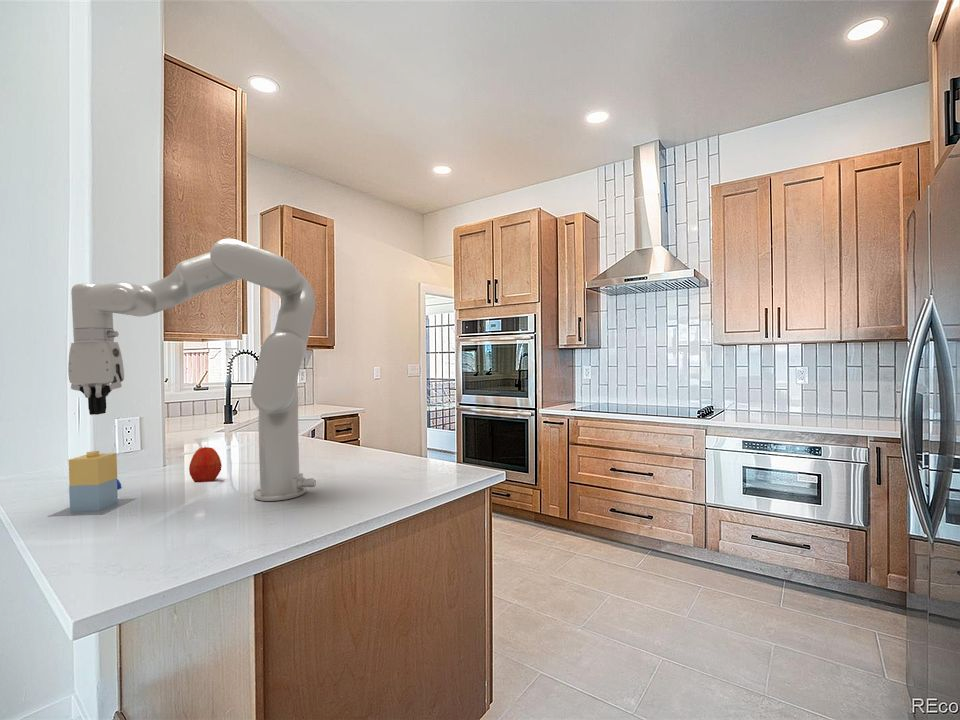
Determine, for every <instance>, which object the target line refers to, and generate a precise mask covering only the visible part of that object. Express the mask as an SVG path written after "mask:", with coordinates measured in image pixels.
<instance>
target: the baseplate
mask: <svg viewBox="0 0 960 720" xmlns="http://www.w3.org/2000/svg"><path fill="white" fill-rule="evenodd" d="M137 499H138V498H136V497H135V498H134V497H133V498H132V497H131V498H118V502H117V503H115V504H113V505H111V506H108V507H106V508H104V509H102V510H100V511H78V512H70V506H69V507H66V508H65V509H62V510H60V511H57V512H55V513H52V514H49V515H47V517H48V518H49V517H50V518H51V517H69V516H70V517H73V516H74V517H75V516H94V515H95V516H97V515H98V516H99V515H102V516H103V515H106V514H107V513H109V512H111V511H113V510H115V509H118V508H120V507H122V506H124V505H126V504H129V503H131V502H132V501H135V500H137Z"/></svg>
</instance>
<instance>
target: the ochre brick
mask: <svg viewBox="0 0 960 720" xmlns="http://www.w3.org/2000/svg"><path fill="white" fill-rule="evenodd" d="M117 458H118V456H117V452H112V453H111V452H110V453H108V452H105V453H104V452H103V453H100V450H93V451H87V452H86V454H84V455H80V456H77V457H73V458H70V459H68V482H69V484H68V487H69V486H77V485H99V484H102V483H104V482H107V481H110V480H112V479H115V478H117V479H118V463H117V461H118V459H117Z"/></svg>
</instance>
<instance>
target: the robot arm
mask: <svg viewBox="0 0 960 720" xmlns="http://www.w3.org/2000/svg"><path fill="white" fill-rule="evenodd" d="M240 280H244V281H247V282H248V283H252V284H255V285H258V286H260V287H263V288H266V289H267V290H270V291H271V292H272V293H275V294H277V296H279V298H280V307H279V309H278V313H277V318H276V322H275V327H274V330H273V332H272V333H271V334H269V335H267V337H266V339H265V340H264V341H263V343H262V346H261V349H260V352H259V356H258V361H257V364H256V369H255V373H254V376H253V381H252V384H251V387H250V388H251V391H250V397H251V398H250V399H251V400H252V403H253V405H254V406H255V407H256V408H257V409H258V454H259V455H258V456H259V459H258V460H259V488H258V489H256V490H255V491H254V492H253V498H254V499H255V500H256V501H260V502H261V501H263V502H275V501H276V502H277V501H284V500H290V499H293V498H294V499H295V498H297V497H300V496H302V495H304V494H305V493H306V492H307V488H315V487H316V486H317V480H316V479H314V477H313V478H311V477H310V478H305V477H304V473H300V447H299V446H300V443H299V442H300V441H299V389H298V388H299V387H298V384H297V381H298V377H299V373H300V370H301V366H302V362H303V361H304V359H305V357H306V355H307V346H308V341H309V338H310V334H311V329H312V324H313V319H314V315H315V308H316V297H315V292H314V289H313V287H312V285H311V283H310V282H309V280H307V278H306V277H305V276H304V275H303V274H302V273H301V272H300V270H298V269H297V268H296V266H295V265H294V264H293V263H292V261H290V260H289V259H288V258H286V257H284V256H282V255H279V254H276V253H273V252H270V251H268V250H265V249H262V248H260V247H257V246H254V245H252V244H249V243H247V242H244V241H242V240H239V239H236V238H231V237H230V238H227V237H226V238H222V239H220V240H218V241H216V242H215V243H214V244H213V245H212V246H211V249H210V251H208V252H206V253H203V254H200V255H197V256H195V257H191V258H188V259H185V260H182V261H181V262H179V263H178V264H176V266H175V268H174V270H173V271H172V272H171V273H170V274H169V275H167V276H165V277H164V278H161V279H158V280H155V281H153V282H151V283H147V284H144V285H141V286H140V285H137V284H134V283H129V282H126V281H125V282H121V281H120V282H112V283H103V284H98V283H76V284H74V285H73V286H72V287H71V292H70V294H71V296H70V297H71V312H72V332H73V342H71V343H70V348H69V353H68V354H69V355H68V364H67V365H68V368H67V372H68V373H67V374H68V380H69V384H70V385H71V386H70V389H71V390H74V391H77V392H78V391H79V392H81V393H82V394H83V395H84V397H85V398H86V399H87V403H88V404H87V405H88V413H89V415H91V416H93V415H95V416H96V415H102V414H106V412H107V397H108V396H109V394H110V393H111V392H112V391H113V390H116V389H117V390H118V389H120V388H122V382H124V380H125V370H124V368H125V367H124V362H123V361H124V360H123V356H122V352H121V348H120V345H119V343H118V341H114V340H115V338H118V337H119V332H118V331H115V328H114V314H120V315H124V316H125V315H126V316H131V317H132V316H133V317H148V316H151V315H154V314H157V313H159V312H162V311H165V310H168V309H171V308H173V307H175V306H178V305H180V304H183V303H184V302H186V301H189V300H190V299H192V298H195V297H196V296H197V295H201V294H203V293H205V292H208V291H210V290H214V289H217V288H219V287H223V286H226V285H228V284H230V283H231V284H232V283H234V282H237V281H240Z"/></svg>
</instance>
